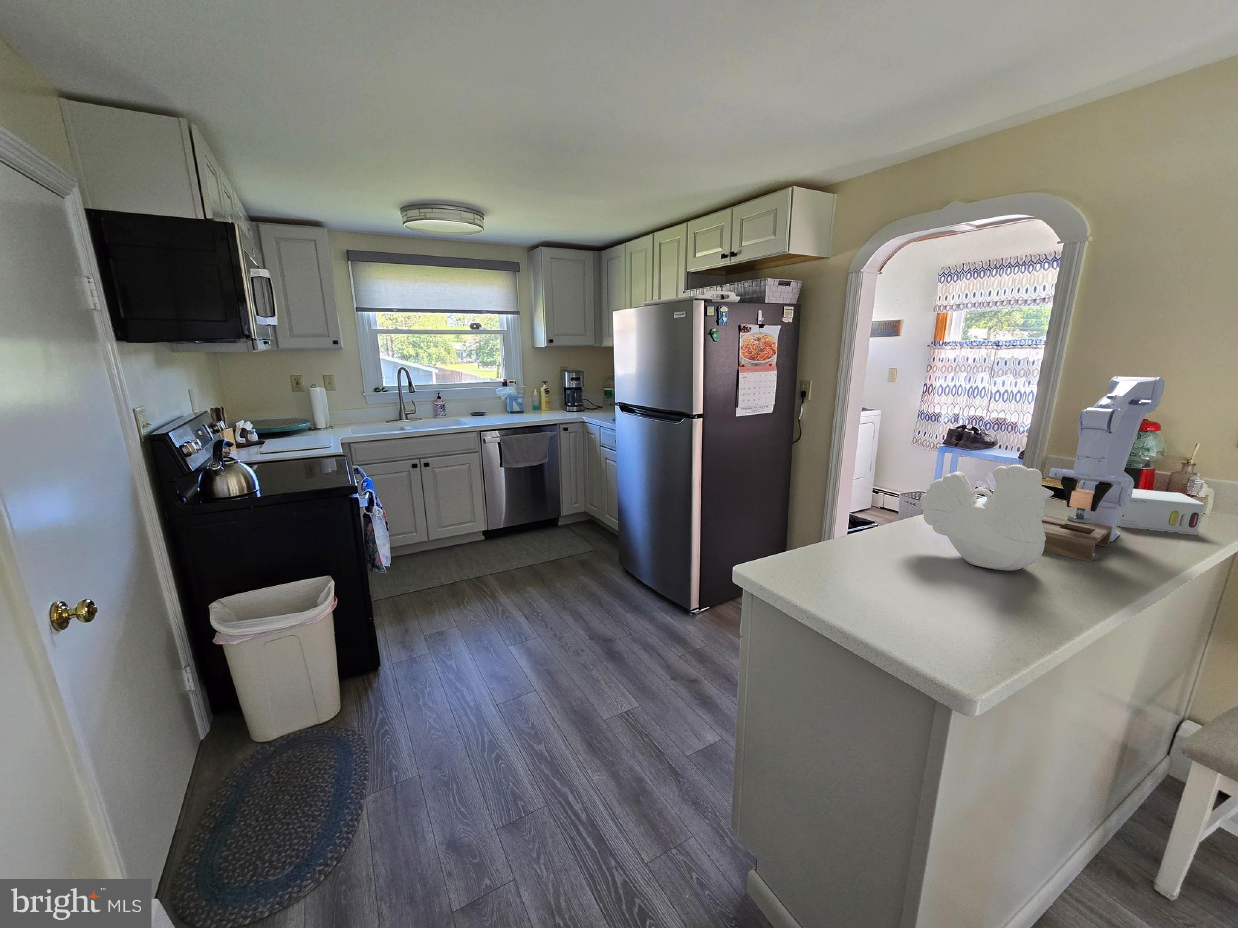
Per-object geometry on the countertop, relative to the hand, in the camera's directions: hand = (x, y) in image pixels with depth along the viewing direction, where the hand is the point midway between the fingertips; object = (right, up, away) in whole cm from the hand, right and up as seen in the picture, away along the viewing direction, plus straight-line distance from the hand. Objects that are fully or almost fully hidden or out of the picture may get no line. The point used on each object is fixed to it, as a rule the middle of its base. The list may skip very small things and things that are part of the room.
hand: (1081, 508), depth 127 cm
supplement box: (+37, -7, +19) cm, 42 cm away
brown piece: (0, -3, +1) cm, 3 cm away
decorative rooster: (-31, -12, -5) cm, 33 cm away
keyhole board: (-2, -10, +5) cm, 11 cm away
